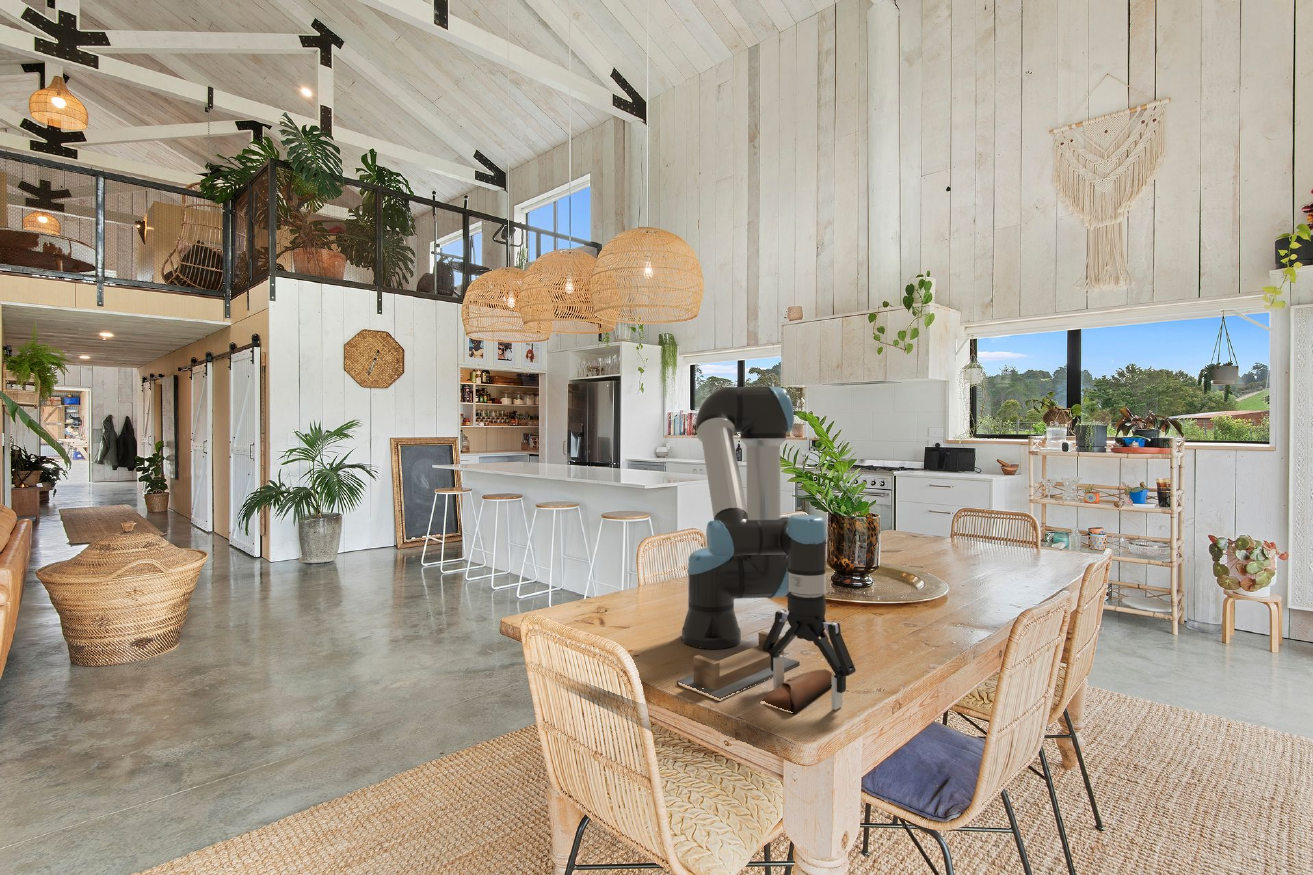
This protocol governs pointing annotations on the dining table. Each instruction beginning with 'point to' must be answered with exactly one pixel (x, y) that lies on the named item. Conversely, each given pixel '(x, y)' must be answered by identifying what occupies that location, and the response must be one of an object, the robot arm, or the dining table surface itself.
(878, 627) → the dining table surface
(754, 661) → the case stand
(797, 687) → the sunglasses case
